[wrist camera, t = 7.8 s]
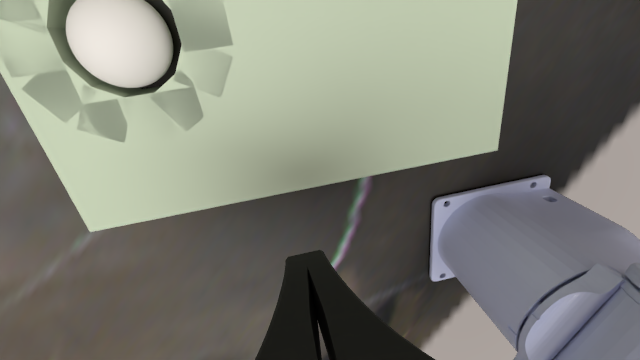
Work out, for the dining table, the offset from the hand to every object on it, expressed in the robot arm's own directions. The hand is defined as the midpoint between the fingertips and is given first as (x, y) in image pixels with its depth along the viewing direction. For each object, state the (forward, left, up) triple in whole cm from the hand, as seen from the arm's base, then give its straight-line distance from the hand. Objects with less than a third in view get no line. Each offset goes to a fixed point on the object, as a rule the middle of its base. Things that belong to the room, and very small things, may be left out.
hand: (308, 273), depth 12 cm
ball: (+6, -9, -7) cm, 13 cm away
